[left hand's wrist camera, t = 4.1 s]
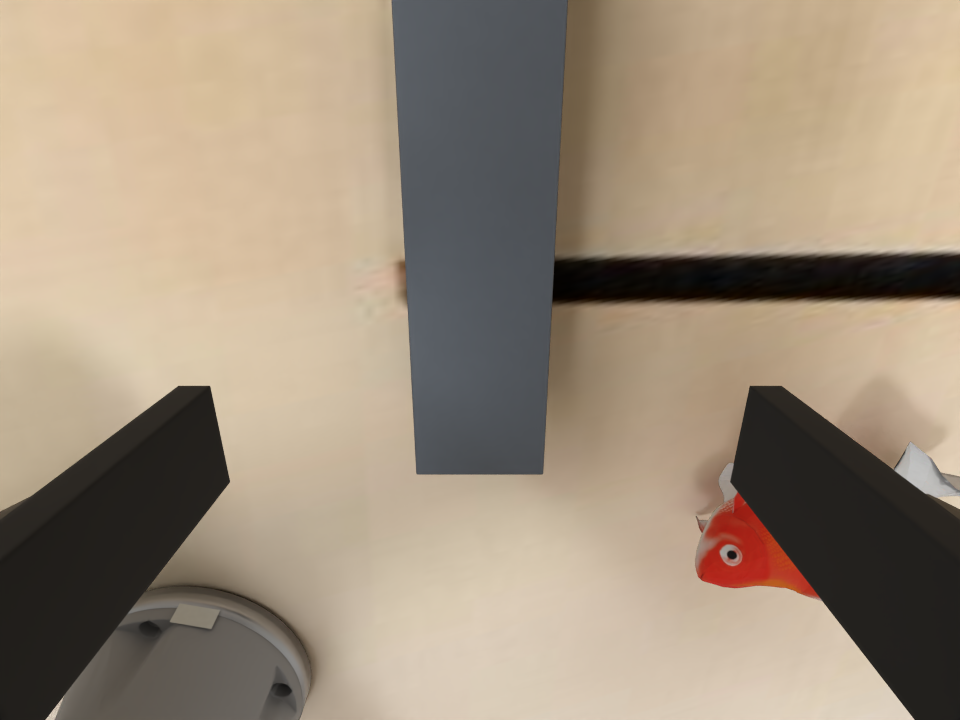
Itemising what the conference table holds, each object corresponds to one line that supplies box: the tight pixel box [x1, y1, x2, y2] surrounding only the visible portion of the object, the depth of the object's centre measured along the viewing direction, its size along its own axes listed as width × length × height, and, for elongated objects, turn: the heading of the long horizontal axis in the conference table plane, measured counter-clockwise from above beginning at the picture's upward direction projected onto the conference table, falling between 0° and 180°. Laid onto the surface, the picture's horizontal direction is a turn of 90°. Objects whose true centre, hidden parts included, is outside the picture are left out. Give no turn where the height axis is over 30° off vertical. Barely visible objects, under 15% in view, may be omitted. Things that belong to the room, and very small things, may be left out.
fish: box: [695, 442, 960, 601], centre depth 28 cm, size 11×16×10 cm
